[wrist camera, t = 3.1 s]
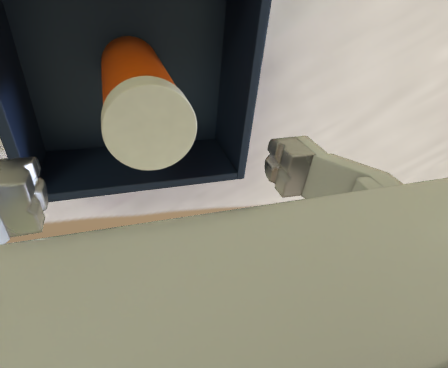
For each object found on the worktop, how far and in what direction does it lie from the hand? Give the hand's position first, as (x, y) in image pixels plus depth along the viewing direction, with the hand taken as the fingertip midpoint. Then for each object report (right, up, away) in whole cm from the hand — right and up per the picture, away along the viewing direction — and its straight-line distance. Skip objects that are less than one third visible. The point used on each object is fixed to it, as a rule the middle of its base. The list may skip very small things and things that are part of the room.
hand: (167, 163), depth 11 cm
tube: (-4, +7, +10) cm, 13 cm away
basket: (-4, +7, +10) cm, 13 cm away
